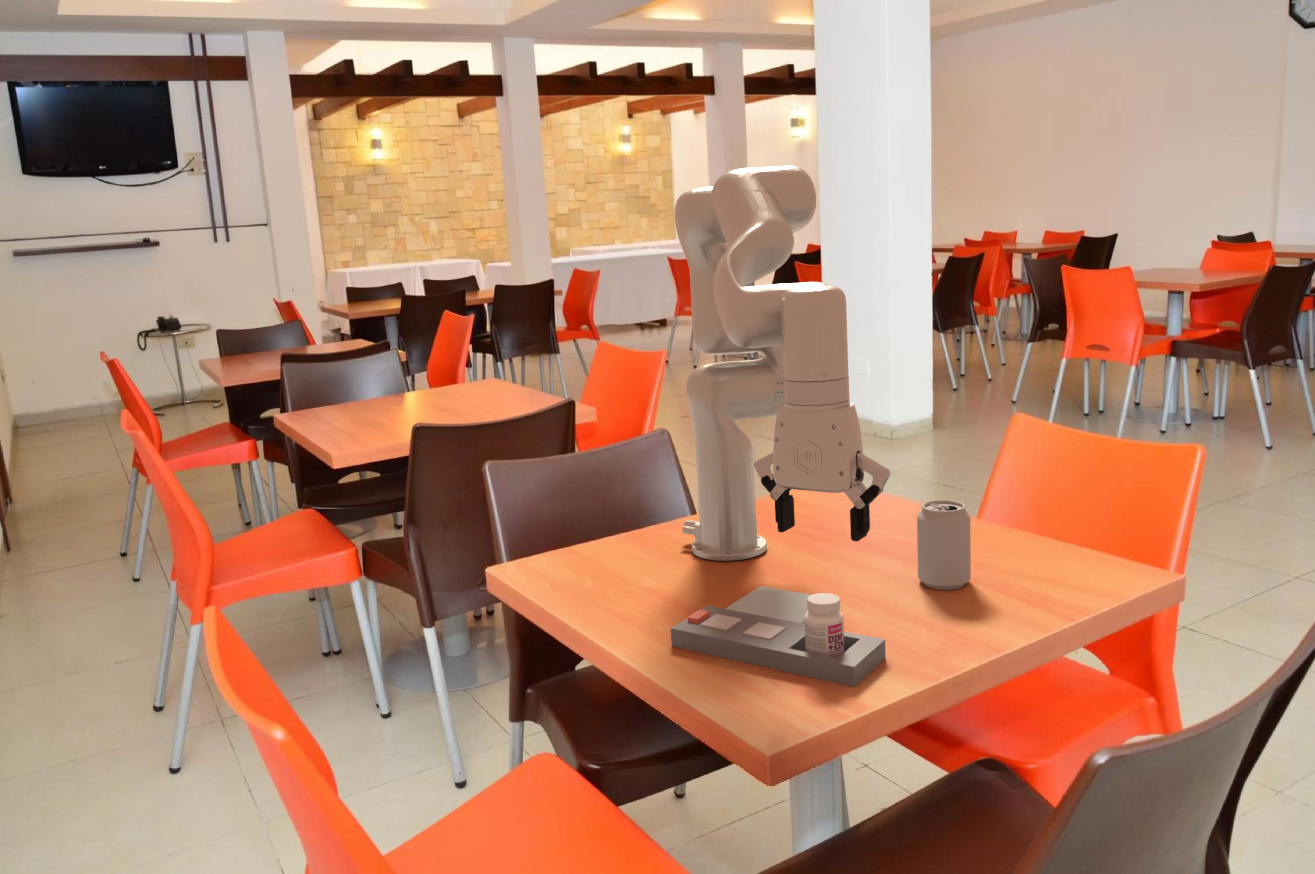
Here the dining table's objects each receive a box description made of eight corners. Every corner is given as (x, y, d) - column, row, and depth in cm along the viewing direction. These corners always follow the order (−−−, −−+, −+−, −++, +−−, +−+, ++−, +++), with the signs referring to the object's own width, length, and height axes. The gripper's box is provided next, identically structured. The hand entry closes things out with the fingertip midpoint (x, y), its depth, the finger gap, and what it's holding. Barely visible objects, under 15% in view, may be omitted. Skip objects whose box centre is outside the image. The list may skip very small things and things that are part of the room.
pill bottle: (835, 673, 125) (833, 607, 123) (799, 666, 127) (797, 602, 126) (850, 658, 129) (848, 594, 127) (815, 652, 131) (812, 589, 130)
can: (972, 591, 148) (972, 511, 146) (918, 591, 150) (917, 511, 147) (968, 574, 155) (968, 497, 153) (916, 573, 157) (915, 497, 155)
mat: (718, 616, 145) (717, 613, 145) (760, 589, 155) (760, 585, 155) (794, 631, 138) (794, 627, 138) (834, 601, 148) (833, 598, 148)
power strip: (671, 646, 136) (670, 623, 136) (708, 622, 143) (707, 601, 143) (854, 686, 121) (853, 662, 121) (885, 658, 128) (885, 634, 128)
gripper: (736, 395, 123) (744, 534, 126) (872, 400, 113) (876, 551, 116) (767, 386, 129) (774, 518, 132) (899, 390, 119) (902, 533, 122)
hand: (822, 533), depth 124 cm, fingers open, 9 cm apart
